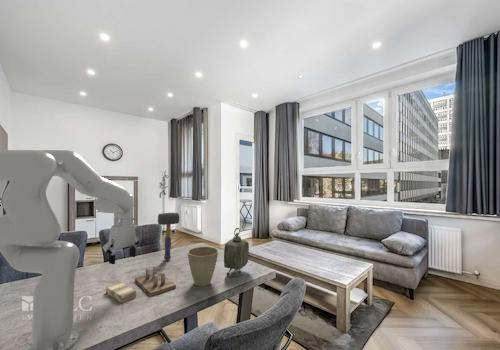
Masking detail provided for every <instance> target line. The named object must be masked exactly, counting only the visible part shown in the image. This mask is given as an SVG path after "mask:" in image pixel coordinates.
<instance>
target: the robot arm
mask: <svg viewBox="0 0 500 350" xmlns="http://www.w3.org/2000/svg"><path fill="white" fill-rule="evenodd" d="M53 177H59V178H61V179H63V181H65V182H66V183H67V184H69V186H71V187H72V188H73V189H75V190H76V191H77V192H78V193H80V194H81V195H85V196H88V197H90V198H96V200H95V201H94V208H95V210H96V211H97V212H99V213H103V214H113V225H111V227H110V231H109V237H108V241H107V242H106V243H105V244H103V246H102V249H103V251H104V253H106V254H107V255H108V263H109V264H111V265H115V264H116V254H115V253H116V251H117V250H121V249H124V248H127V247H129V257H131V258H135V257H136V251H137V248H138V245H139V243H140V240H141V236H139V235H137V234H136V226H135V223H134V221H135V220H136V217H134V205H135V201H134V195H133V194H131V193H129V191H127V189H126V188H124V187H123V186H121V185H120V184H118V183H116V182H113V181H111V180H109V179H107V178H106V177H105V178H104V177H102V176H101V175H100V174H99V173H98V172H97V171H96V170H95V169H94V168H93V167H92V165H90V164H89V163H88V162H87V161H86V160H85V159H84V158H83V157H82V156H81V155H80V154H79V153H78V152H76V151H73V150H69V149H67V150H63V149H60V150H59V149H43V150H41V149H40V150H35V149H34V150H32V149H0V181H2V182H3V181H5V182H7V181H8V184H7V186H6V188H5V190H4V193H3V195H2V199H1V202H2V207H3V209H4V212H5V214H3V215H1V216H0V253H1V255H2V256H3V257H4V259H5V260H6V262H7V263H8V264H9V266H11V268H13V269H14V270H16V271H18V272H21V273H22V272H23V273H33V274H36V273H37V274H41V277H40V279H39V280H38V282H37V283H36V285H35V287H34V289H33V294H32V295H33V297H32V319H31V321H32V322H31V342H30V343H29V344H27V345H26V346H25V347H24V350H67V349H68V350H70V349H71V348H72V347H73V346H74V345H75V344H76V343H77V342H78V339H79V332H78V330H76V329H73V327H74V303H75V302H74V301H75V282H76V281H75V280H76V279H75V278H76V273H77V272H76V271H77V268H78V264H79V260H80V254H81V253H80V249H79V247H78V246H77V245H76V244H75V243H73V242H72V241H71V242H70V241H66V240H58V239H59V238H60V236H61V234H62V228H61V223H60V222H59V220H58V219H57V216H56V214H55V212H54V210H53V209H52V206H51V205H50V203H49V200H48V198H47V197H48V196H47V188H48V186H49V184H50V181H51V180H52V178H53ZM70 347H71V348H70Z"/></svg>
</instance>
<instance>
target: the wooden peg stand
mask: <svg viewBox="0 0 500 350" xmlns="http://www.w3.org/2000/svg"><path fill="white" fill-rule="evenodd" d="M150 270H151V269H150V268H148V267H147V268H145V275H141V276H138V277H135V278H134V282H135V283H136V284H137V285H138V286H139V287H140V288H141V289H142V290H143V291H144V292H145V293H146V294H147V295H148V296H149V297H152V296H155V295H158V294H161V293H164V292H167V291H171V290H174V289H177V284H176V283H175V282H173V281H172V280H170V279H169V278H168V277H166V272H160V271H158V267H157V266H153V267H152V273H150Z"/></svg>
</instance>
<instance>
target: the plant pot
mask: <svg viewBox="0 0 500 350" xmlns="http://www.w3.org/2000/svg"><path fill="white" fill-rule="evenodd" d="M218 254H219V249H218V248H216V247H212V246H198V247H193V248H190V249H189V250H188V251H187V257H188V265H189V269H190V273H191V277H192V279H193V280H192V281H193V283H194V285H196V286H198V287H205V286H208V285H209V284H210V283H211V281H212V278H213V275H214V272H215V268H216V265H217V259H218Z"/></svg>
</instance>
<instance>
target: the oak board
mask: <svg viewBox="0 0 500 350" xmlns="http://www.w3.org/2000/svg"><path fill="white" fill-rule="evenodd" d="M105 293H106V294H107V295H108V296H110V297H112V298H113V299H115V300H117V301H118V302H119V303H121V304H122V303H125V302H128V301H130V300H132V299H134V298H136V297H137V290H135V289H134V288H132V287H130V286H128V285H126V284H125V283H122V282H121V281H120V282H117V283H113V284H111V285H108V286H105Z"/></svg>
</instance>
